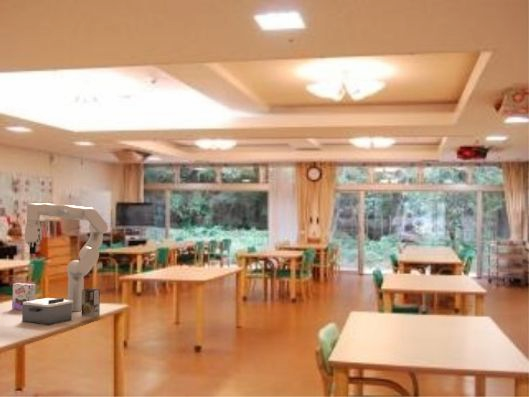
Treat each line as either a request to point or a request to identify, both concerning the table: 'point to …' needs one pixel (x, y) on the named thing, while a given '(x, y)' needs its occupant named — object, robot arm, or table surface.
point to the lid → (48, 302)
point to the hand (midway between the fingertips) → (32, 253)
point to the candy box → (22, 294)
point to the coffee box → (91, 302)
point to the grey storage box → (46, 314)
